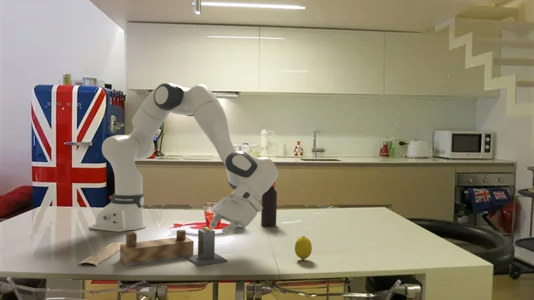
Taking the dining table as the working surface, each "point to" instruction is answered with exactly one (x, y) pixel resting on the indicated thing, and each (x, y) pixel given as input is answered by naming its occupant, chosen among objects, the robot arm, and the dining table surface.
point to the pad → (200, 262)
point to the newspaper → (103, 254)
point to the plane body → (155, 249)
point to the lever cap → (206, 243)
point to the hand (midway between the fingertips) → (217, 230)
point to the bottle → (269, 207)
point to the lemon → (303, 247)
